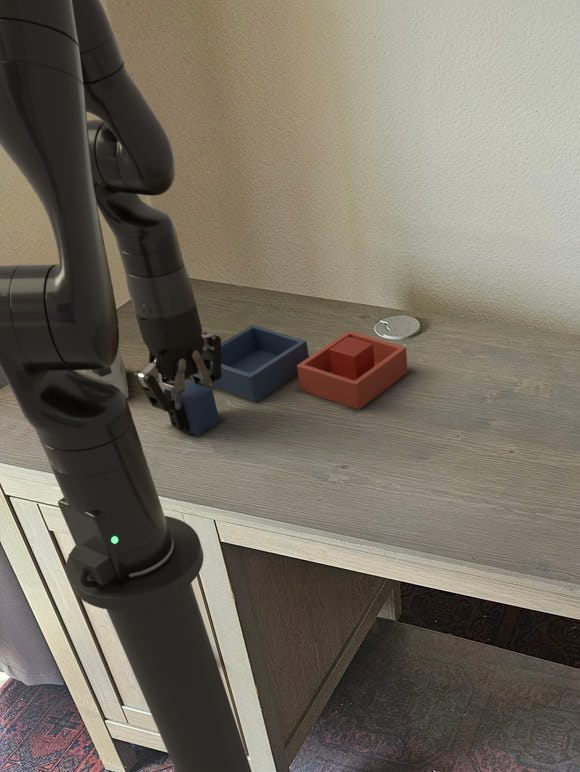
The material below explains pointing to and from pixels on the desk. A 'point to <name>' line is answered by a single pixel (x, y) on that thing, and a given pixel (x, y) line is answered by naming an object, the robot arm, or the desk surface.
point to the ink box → (112, 375)
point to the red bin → (346, 391)
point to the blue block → (199, 407)
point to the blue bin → (259, 362)
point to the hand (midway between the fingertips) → (195, 420)
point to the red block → (352, 358)
